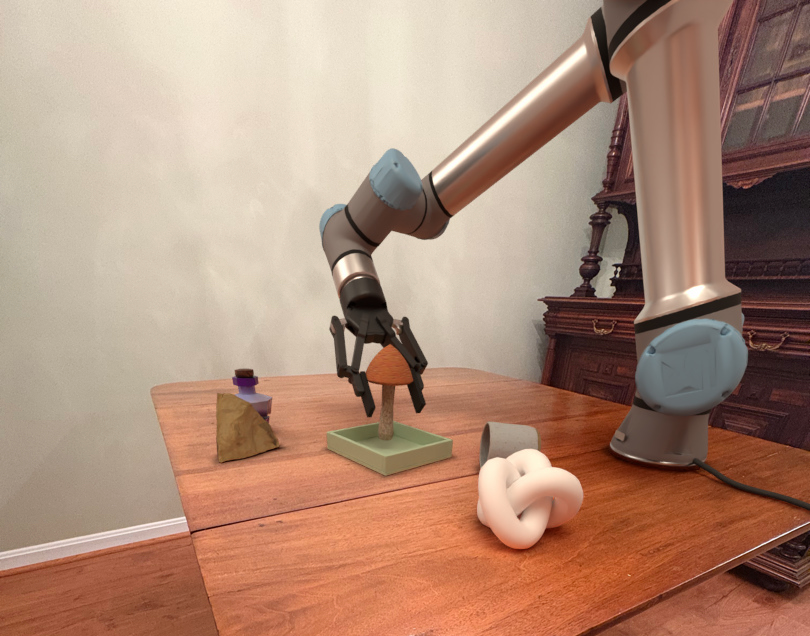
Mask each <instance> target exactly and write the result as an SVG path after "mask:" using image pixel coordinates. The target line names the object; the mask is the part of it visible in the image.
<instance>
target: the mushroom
mask: <svg viewBox="0 0 810 636" xmlns="http://www.w3.org/2000/svg"><path fill="white" fill-rule="evenodd" d="M365 373H366V377H367V380H368V383H371V384H374V385H380V386H381V407H380V415H379V420H378V422H379V427H378V436H379V439H382V440H391V439H392V437H393V432H394V430H393V421H394V402H395V395H396V393H395V392H396V387H401V386H407V385H408V384H410V383H411V382H413V377H412V374H411V371H410V368H409V366H408V364H407V362H406V360H405V359H404V357H403V356H402V355H401V353H400V352H399V351H398V350H397V349H396V348H395V347H393V346H392V345H391V344H389V345H388V346H386V347H384V348H383V347H382V348H381V349H380V350H379V351H378V352H377V353H376V354H375V355H374V357H373V358H372V359H371V360H370V362H369V364H368V366H367V368H366V371H365Z"/></svg>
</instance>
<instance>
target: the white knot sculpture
mask: <svg viewBox="0 0 810 636" xmlns="http://www.w3.org/2000/svg"><path fill="white" fill-rule="evenodd" d="M549 459H550V458H548V456H547V455H546V454H545V453H543V452H541V451H540V452H539V451H538V450H535V449H524V450H521V451H518V452H516V453H514V454H512V455H510V456H509V457H507V458H506V459H504V458H499V457H496V458H493V459H490V460H488V461H487V462H486V463H485V464H484V465H483V466H482V467H481V468H480V470H479V473H478V479H477V493H478V500H477V503H476V504H477V505H476V515H477V518H478V520H479V522H480V523H481V524H482V525H484V526H486V527H487V528H490V530H491V531H492V533H493V534H494V535H495V536H496V538H498V540H499V541H500V542H501V543H503V544H504V545H505V546H506V547H509V548H510V549H514V550H515V549H516V550H525V549H529V548H531V547H533V546H534V545H535V544H536V543H538V541H539V540H540V539H541V538H542V536H543V535H544V533H545V530H546V529H554V528H557V527H561V526H562V525H565V524H566V523H568V522H569V521H571V520H572V519H574V518H575V516H576V515H577V514H578V513H579V512H580V509H581V507H582V504H583V502H584V489H583V486H582V484H581V481H580V480H579V479H578V477H577V476H576V475H574V474H572V473H571V472H570V471H568V470H566V469H564V468H561V467H555V466H552V462H551V461H550V460H549Z"/></svg>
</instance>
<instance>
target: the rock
mask: <svg viewBox="0 0 810 636" xmlns="http://www.w3.org/2000/svg"><path fill="white" fill-rule="evenodd" d="M215 407H216V408H215V409H216V411H215V418H216V423H215V424H216V434H215V440H216V442H215V443H216V453H217V460H218V462H219V463H221V464H222V463H224V462H227V461H233V460H234V461H235V460H241V459H245V458H249V457H253V456H256V455H258V454H261V453H265V452H267V451H270V450H274V449H277V448H279V447H281V444H280V442H279V438H278V437H277V436H276V434H275V431H274V429H273V428H272V426H271V424H270V422H269V423H268V422H267V421H265V420H264V419H263V418H262V417H261V416H260V414H259V413H258V412H257V411H256V410H255V409H254V408H253V406H252V405H251V403H249V402H247V401H245V400H243V399H241V398H239V397H237V396H236V395H235V394H233V393H231V392H230V393H229V392H223V393H222V392H221V393H220V392H217V393H216V404H215Z"/></svg>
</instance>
